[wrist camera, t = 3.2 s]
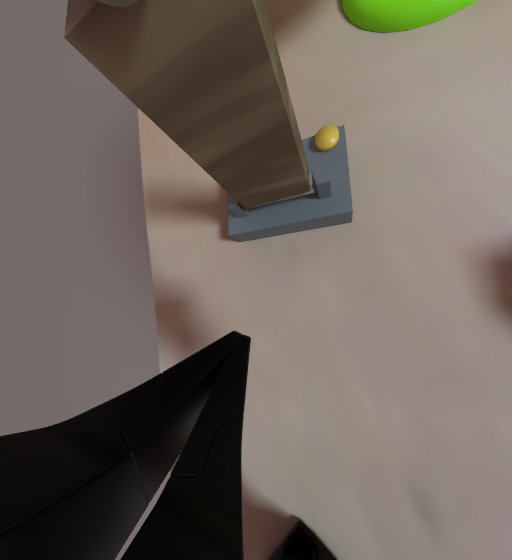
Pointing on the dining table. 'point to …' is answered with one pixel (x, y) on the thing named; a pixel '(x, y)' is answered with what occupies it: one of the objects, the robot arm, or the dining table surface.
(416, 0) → the wineglass
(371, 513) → the dining table surface
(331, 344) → the dining table surface
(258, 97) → the toggle lever
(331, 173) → the blue-grey base plate
